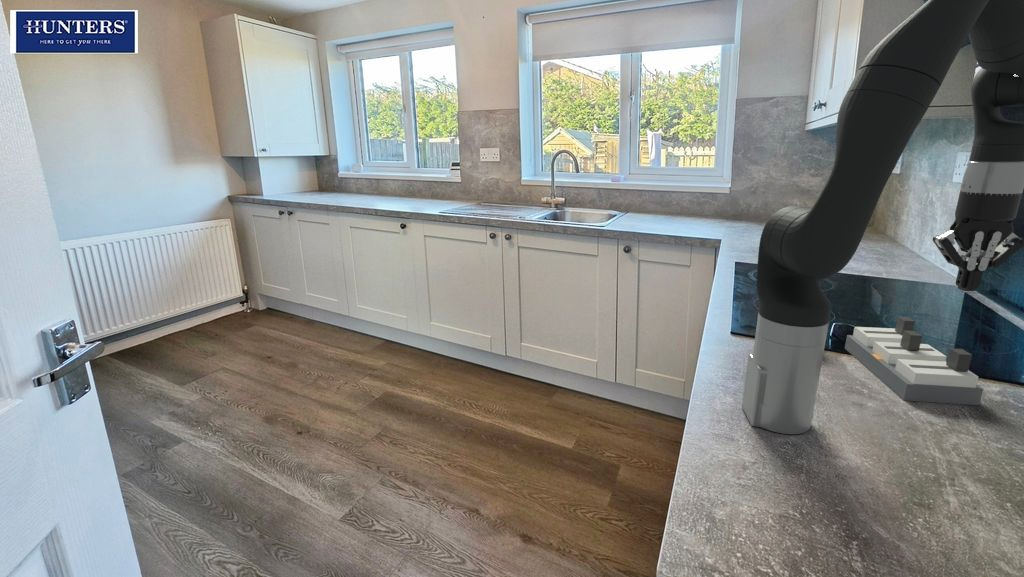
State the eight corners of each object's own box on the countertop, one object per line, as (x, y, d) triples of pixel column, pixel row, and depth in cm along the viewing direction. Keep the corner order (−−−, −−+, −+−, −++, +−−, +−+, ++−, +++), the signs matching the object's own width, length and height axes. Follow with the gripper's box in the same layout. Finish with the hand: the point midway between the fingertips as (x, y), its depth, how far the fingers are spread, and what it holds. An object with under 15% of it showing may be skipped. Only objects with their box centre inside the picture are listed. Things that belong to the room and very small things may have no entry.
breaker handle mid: (907, 350, 90) (910, 335, 89) (900, 345, 92) (903, 330, 91) (918, 351, 90) (922, 335, 89) (911, 345, 92) (914, 330, 91)
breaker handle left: (901, 335, 97) (904, 320, 96) (894, 330, 99) (897, 316, 98) (911, 335, 97) (915, 321, 96) (904, 331, 99) (908, 317, 98)
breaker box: (903, 400, 83) (909, 372, 82) (844, 348, 104) (848, 325, 102) (978, 405, 81) (986, 377, 79) (903, 351, 102) (908, 328, 100)
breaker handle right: (955, 370, 82) (959, 354, 81) (945, 364, 84) (950, 348, 83) (967, 371, 81) (972, 354, 81) (958, 365, 84) (962, 349, 83)
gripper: (959, 192, 79) (936, 295, 84) (1057, 191, 77) (1027, 297, 81) (931, 187, 86) (910, 283, 91) (1020, 187, 84) (994, 285, 89)
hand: (966, 289), depth 86 cm, fingers closed
